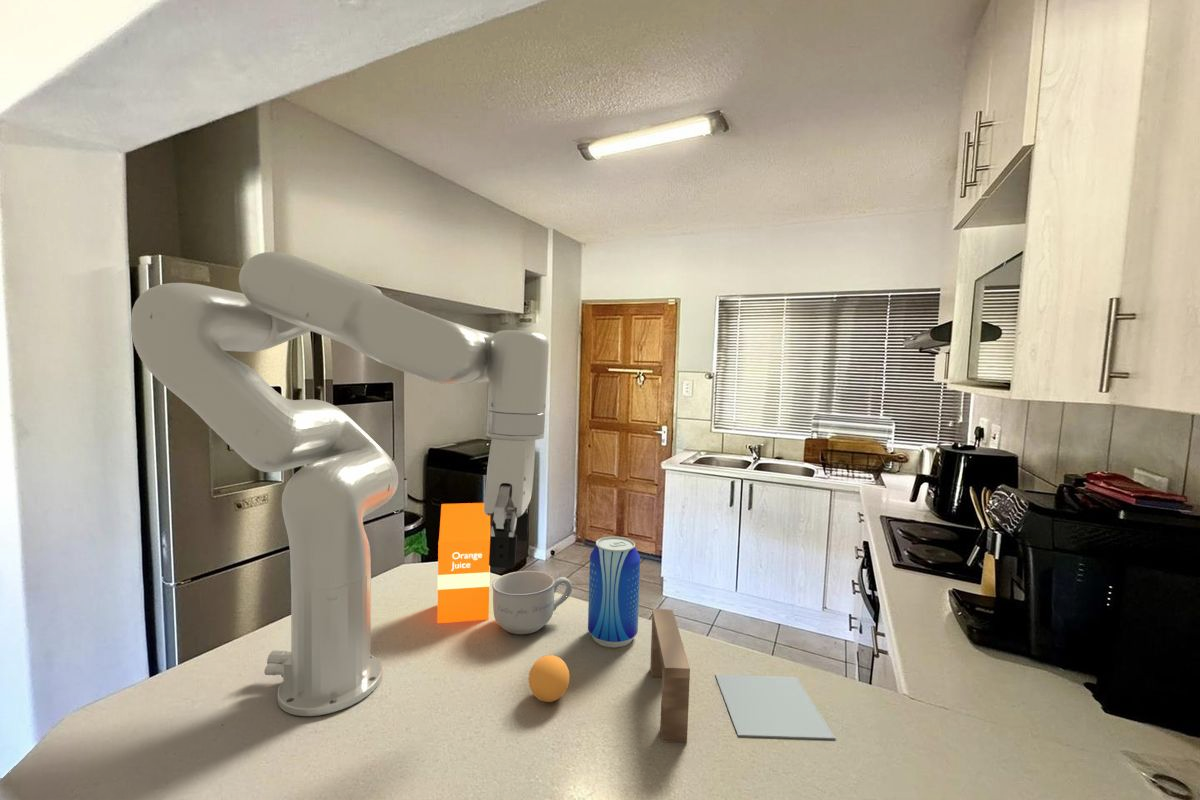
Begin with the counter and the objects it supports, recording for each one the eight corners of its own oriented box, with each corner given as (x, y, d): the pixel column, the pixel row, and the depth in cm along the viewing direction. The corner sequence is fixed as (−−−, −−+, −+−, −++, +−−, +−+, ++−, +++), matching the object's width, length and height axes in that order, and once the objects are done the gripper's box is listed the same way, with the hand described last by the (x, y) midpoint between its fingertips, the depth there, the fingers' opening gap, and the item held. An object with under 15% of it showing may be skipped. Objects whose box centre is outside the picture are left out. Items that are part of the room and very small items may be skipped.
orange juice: (489, 619, 86) (491, 508, 85) (436, 623, 84) (438, 510, 83) (489, 599, 94) (491, 497, 92) (441, 602, 92) (442, 498, 91)
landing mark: (737, 736, 60) (738, 734, 60) (715, 675, 72) (715, 674, 72) (835, 739, 60) (835, 737, 60) (796, 678, 72) (796, 676, 72)
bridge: (662, 741, 58) (664, 667, 58) (650, 668, 73) (652, 608, 72) (687, 742, 58) (690, 668, 58) (670, 669, 73) (672, 609, 72)
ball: (525, 711, 63) (526, 670, 63) (531, 684, 68) (532, 646, 68) (567, 712, 63) (568, 671, 63) (570, 685, 68) (571, 647, 68)
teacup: (489, 644, 78) (490, 595, 78) (493, 611, 89) (494, 568, 89) (575, 639, 80) (576, 592, 80) (569, 607, 91) (570, 566, 91)
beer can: (634, 653, 77) (637, 554, 76) (582, 646, 78) (585, 549, 78) (640, 626, 85) (643, 537, 84) (593, 620, 87) (596, 532, 86)
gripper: (501, 417, 73) (495, 529, 73) (469, 431, 55) (463, 577, 56) (551, 420, 73) (544, 532, 73) (535, 435, 55) (527, 581, 56)
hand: (509, 552), depth 65 cm, fingers open, 9 cm apart
